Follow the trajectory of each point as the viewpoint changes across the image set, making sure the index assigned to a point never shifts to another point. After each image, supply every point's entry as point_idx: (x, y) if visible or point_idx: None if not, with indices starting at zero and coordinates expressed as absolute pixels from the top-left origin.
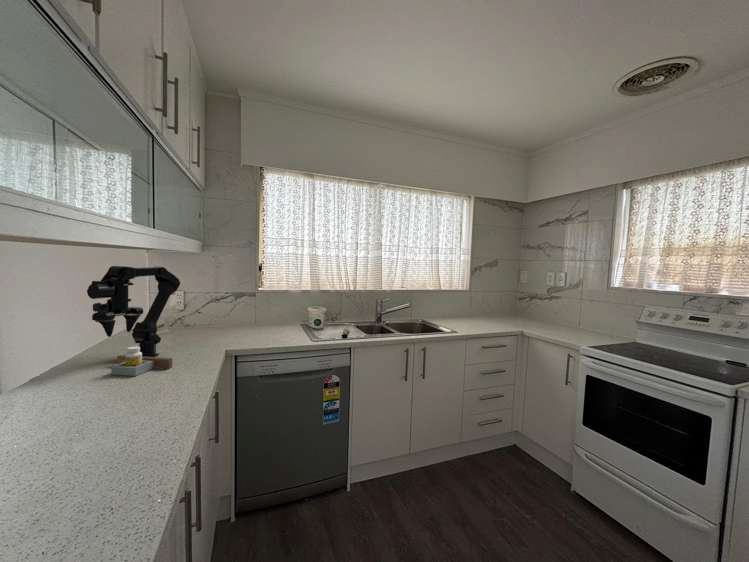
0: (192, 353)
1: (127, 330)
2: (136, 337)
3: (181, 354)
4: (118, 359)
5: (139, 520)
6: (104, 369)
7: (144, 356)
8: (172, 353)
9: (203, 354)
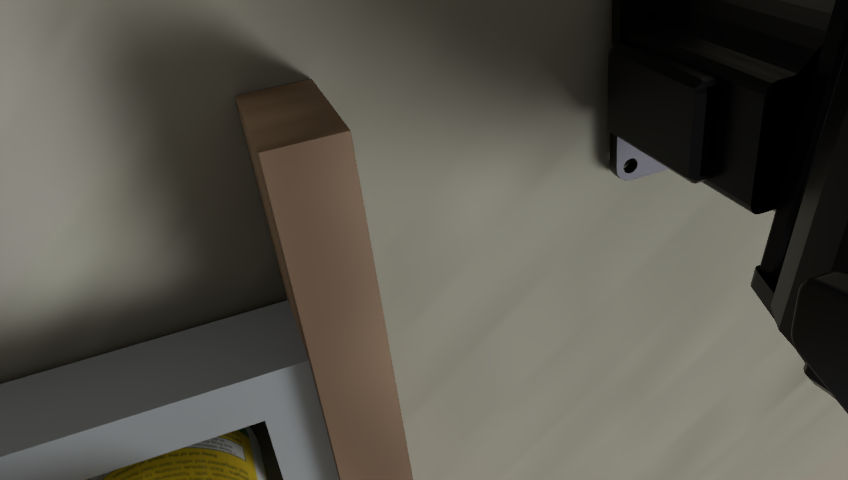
0: None
1: (839, 318)
2: (843, 155)
3: None
4: (255, 159)
5: None
6: (30, 89)
7: (408, 457)
8: None
9: (801, 454)
